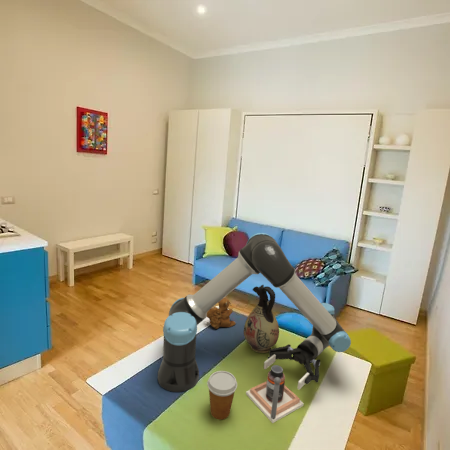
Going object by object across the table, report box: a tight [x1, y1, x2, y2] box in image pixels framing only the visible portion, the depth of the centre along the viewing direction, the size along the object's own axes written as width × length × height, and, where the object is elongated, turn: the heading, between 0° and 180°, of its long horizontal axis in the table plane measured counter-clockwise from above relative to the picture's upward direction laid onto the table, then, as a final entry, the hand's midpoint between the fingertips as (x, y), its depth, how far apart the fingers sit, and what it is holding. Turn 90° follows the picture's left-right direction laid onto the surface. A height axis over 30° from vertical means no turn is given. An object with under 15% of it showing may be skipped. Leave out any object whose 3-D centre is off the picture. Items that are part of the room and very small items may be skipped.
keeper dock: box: [245, 377, 305, 424], centre depth 105 cm, size 14×14×16 cm
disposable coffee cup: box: [207, 370, 238, 421], centre depth 99 cm, size 10×10×12 cm
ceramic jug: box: [243, 284, 280, 354], centre depth 132 cm, size 17×15×30 cm
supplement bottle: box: [266, 364, 286, 402], centre depth 105 cm, size 6×6×11 cm
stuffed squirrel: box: [206, 297, 237, 330], centre depth 150 cm, size 10×14×13 cm
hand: (281, 375), depth 106 cm, fingers open, 13 cm apart
